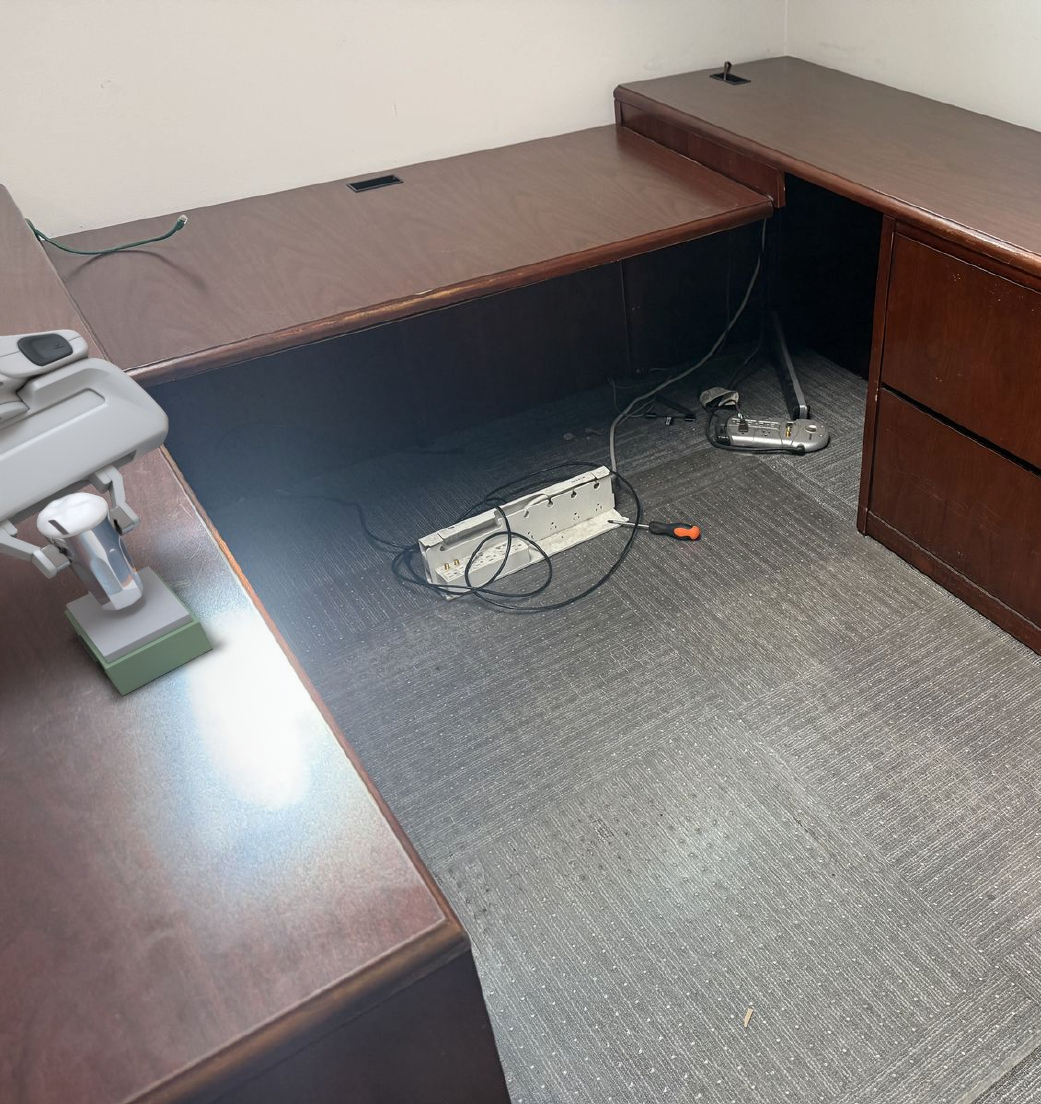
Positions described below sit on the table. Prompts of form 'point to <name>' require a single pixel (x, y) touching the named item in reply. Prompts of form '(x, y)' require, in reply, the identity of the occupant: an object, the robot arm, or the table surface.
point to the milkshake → (92, 548)
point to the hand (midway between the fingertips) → (97, 549)
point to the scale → (139, 634)
